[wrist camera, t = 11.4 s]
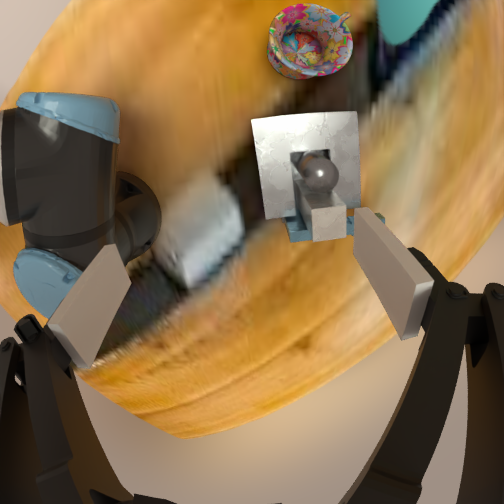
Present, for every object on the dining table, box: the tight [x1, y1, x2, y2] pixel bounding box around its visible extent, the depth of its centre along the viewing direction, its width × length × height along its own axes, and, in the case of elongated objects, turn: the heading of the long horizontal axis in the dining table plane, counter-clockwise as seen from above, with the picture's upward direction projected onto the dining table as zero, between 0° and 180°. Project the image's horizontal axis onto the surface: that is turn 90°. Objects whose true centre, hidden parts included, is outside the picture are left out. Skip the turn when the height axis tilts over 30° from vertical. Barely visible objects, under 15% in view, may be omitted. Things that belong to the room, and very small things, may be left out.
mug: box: [267, 4, 353, 79], centre depth 27 cm, size 12×9×11 cm
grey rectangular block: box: [294, 179, 346, 242], centre depth 36 cm, size 4×4×12 cm
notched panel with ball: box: [251, 111, 385, 243], centre depth 36 cm, size 16×16×11 cm
